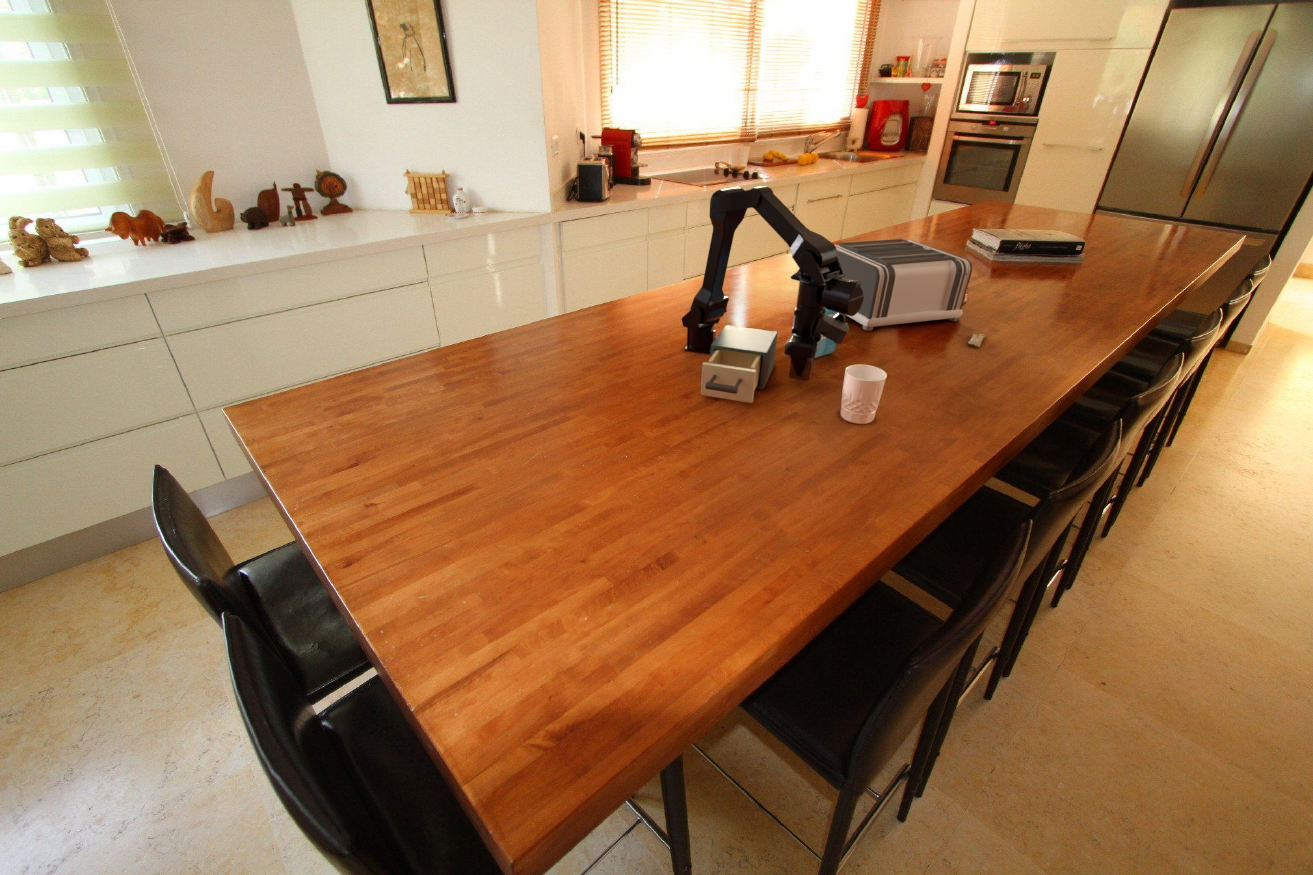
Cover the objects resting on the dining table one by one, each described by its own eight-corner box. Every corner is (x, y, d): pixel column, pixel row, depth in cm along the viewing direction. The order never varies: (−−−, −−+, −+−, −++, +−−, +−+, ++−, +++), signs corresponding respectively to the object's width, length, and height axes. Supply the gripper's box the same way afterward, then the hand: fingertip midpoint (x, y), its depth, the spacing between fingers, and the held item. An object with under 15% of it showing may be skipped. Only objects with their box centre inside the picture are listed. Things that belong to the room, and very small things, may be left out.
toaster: (971, 320, 172) (990, 258, 163) (865, 332, 164) (878, 267, 154) (905, 290, 198) (917, 234, 188) (810, 298, 189) (818, 241, 180)
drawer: (745, 415, 120) (748, 383, 117) (693, 406, 124) (694, 374, 120) (763, 379, 135) (766, 350, 131) (715, 372, 138) (717, 343, 135)
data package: (801, 362, 146) (807, 315, 140) (788, 356, 149) (794, 310, 143) (835, 352, 151) (843, 307, 145) (822, 346, 155) (829, 302, 148)
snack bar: (980, 346, 153) (969, 340, 154) (976, 351, 154) (965, 345, 155) (986, 334, 160) (976, 329, 161) (982, 339, 161) (972, 333, 162)
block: (788, 378, 132) (790, 359, 129) (791, 370, 135) (794, 352, 133) (808, 381, 130) (811, 362, 128) (811, 373, 134) (814, 354, 132)
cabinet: (762, 390, 132) (766, 352, 128) (708, 381, 136) (711, 345, 131) (773, 366, 143) (777, 331, 139) (723, 359, 147) (726, 325, 142)
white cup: (856, 429, 118) (865, 384, 112) (829, 412, 124) (836, 368, 118) (885, 420, 121) (895, 376, 116) (857, 404, 127) (866, 361, 122)
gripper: (846, 323, 114) (833, 395, 122) (853, 295, 129) (841, 361, 137) (788, 316, 118) (779, 386, 126) (802, 289, 133) (793, 354, 141)
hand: (800, 371), depth 132 cm, fingers closed on block, 4 cm apart
